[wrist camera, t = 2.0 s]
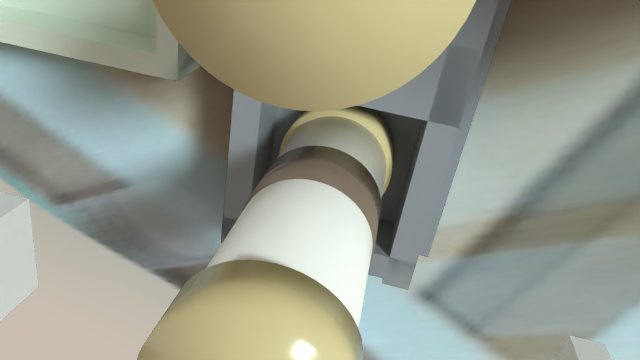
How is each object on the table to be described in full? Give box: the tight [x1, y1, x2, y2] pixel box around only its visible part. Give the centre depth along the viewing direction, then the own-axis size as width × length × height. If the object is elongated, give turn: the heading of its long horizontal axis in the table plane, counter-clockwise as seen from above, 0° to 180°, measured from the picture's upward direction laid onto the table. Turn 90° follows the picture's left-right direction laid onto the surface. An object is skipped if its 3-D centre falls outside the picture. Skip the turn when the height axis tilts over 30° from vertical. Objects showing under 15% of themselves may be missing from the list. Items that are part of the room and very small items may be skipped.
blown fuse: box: [137, 106, 395, 360], centre depth 15 cm, size 4×4×12 cm
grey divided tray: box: [221, 0, 511, 290], centre depth 18 cm, size 16×9×3 cm, turn 171°
